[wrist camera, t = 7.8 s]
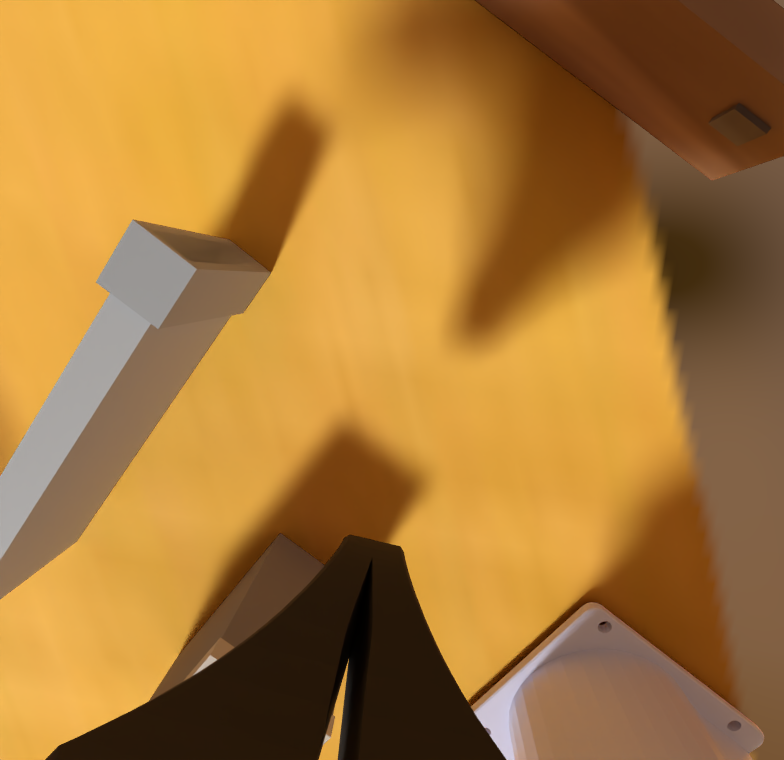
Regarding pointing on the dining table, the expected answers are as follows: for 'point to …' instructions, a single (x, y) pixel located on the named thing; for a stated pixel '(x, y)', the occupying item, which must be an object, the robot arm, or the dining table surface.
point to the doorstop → (247, 610)
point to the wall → (118, 385)
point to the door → (674, 69)
